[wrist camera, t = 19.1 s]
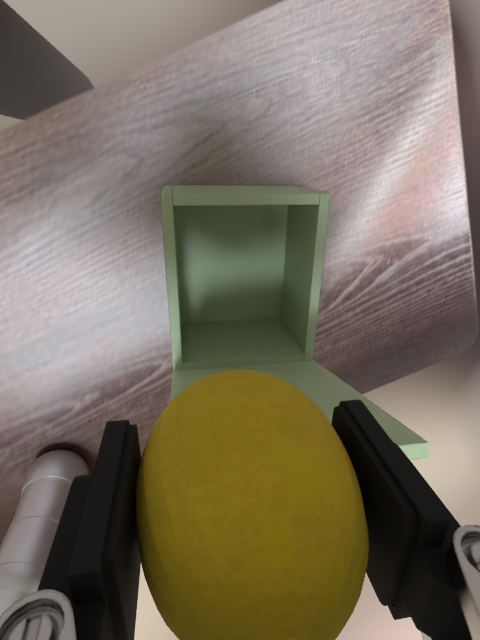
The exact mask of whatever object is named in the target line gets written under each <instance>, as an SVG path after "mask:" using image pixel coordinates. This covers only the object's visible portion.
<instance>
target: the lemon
mask: <svg viewBox="0 0 480 640" xmlns="http://www.w3.org/2000/svg"><path fill="white" fill-rule="evenodd" d="M136 529H137V539H138V547H139V553H140V559H141V563H142V568H143V572H144V576H145V579H146V581H147V584H148V587H149V590H150V592H151V595H152V597H153V600H154V602H155V604H156V607H157V609H158V611H159V613H160V614H161V616H162V618H163V620H164V621H165V623H166V625H167V626H168V627H169V628H170V629H171V631H172V632H173V633H174V634H175V635H176V636H177V637H178V639H180V640H335V639H336V638H337V637H338V635H339V634H340V632H341V631H342V629H343V628H344V626H345V624H346V623H347V621H348V619H349V618H350V616H351V614H352V612H353V611H354V608H355V606H356V604H357V601H358V599H359V597H360V594H361V590H362V586H363V582H364V578H365V573H366V568H367V564H368V552H369V539H368V528H367V522H366V516H365V510H364V505H363V500H362V495H361V491H360V487H359V483H358V479H357V476H356V473H355V470H354V467H353V465H352V462H351V460H350V457H349V455H348V453H347V451H346V449H345V447H344V445H343V443H342V441H341V440H340V438H339V436H338V435H337V433H336V431H335V430H334V428H333V426H332V425H331V423H330V422H329V420H328V418H327V417H326V416H325V414H324V413H323V412H322V411H321V409H320V408H319V407H318V406H317V405H316V404H315V403H314V402H313V401H312V400H311V399H309V398H308V397H307V396H306V395H305V394H304V393H303V392H301V391H300V390H299V389H298V388H297V387H295V386H294V385H293V384H291V383H289V382H287V381H285V380H283V379H281V378H278V377H276V376H274V375H272V374H270V373H265V372H260V371H255V370H249V369H234V370H224V371H221V372H217V373H213V374H209V375H207V376H205V377H203V378H201V379H199V380H197V381H195V382H193V383H191V384H190V385H189V386H187V387H186V388H185V389H184V390H182V391H181V392H180V393H179V394H178V395H177V396H175V397H174V398H173V399H172V400H171V401H170V402H169V404H168V405H167V406H166V408H165V409H164V411H163V412H162V413H161V415H160V416H159V418H158V419H157V420H156V422H155V424H154V426H153V428H152V430H151V432H150V435H149V438H148V441H147V444H146V447H145V449H144V452H143V455H142V458H141V462H140V466H139V470H138V477H137V486H136Z"/></svg>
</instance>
